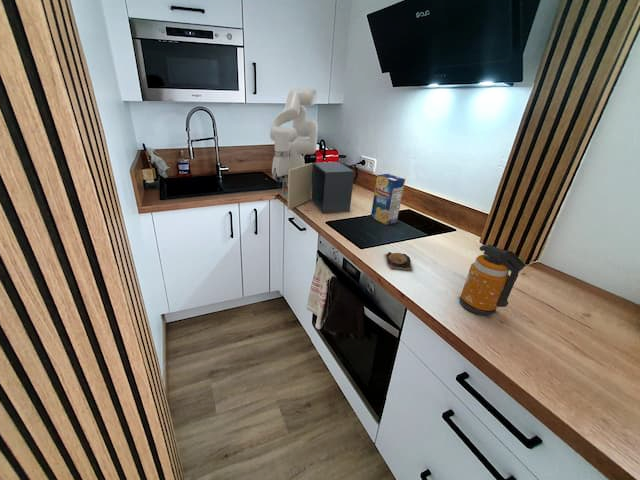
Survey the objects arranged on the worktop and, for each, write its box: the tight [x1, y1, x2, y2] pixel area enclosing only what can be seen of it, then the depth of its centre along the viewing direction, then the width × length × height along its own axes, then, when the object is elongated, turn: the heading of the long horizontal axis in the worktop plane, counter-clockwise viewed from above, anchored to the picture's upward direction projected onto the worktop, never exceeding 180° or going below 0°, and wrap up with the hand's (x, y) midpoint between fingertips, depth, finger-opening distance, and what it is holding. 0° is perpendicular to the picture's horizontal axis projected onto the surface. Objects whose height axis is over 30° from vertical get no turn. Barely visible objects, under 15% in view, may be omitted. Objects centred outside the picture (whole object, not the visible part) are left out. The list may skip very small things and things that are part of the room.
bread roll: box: [385, 251, 413, 272], centre depth 106 cm, size 11×8×4 cm
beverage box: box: [370, 173, 406, 226], centre depth 138 cm, size 7×11×22 cm, turn 26°
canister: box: [459, 243, 527, 316], centre depth 80 cm, size 9×11×20 cm
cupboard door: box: [280, 162, 314, 211], centre depth 159 cm, size 7×22×22 cm, turn 142°
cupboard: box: [310, 161, 355, 214], centre depth 157 cm, size 15×22×22 cm
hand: (281, 187), depth 155 cm, fingers closed on cupboard door
